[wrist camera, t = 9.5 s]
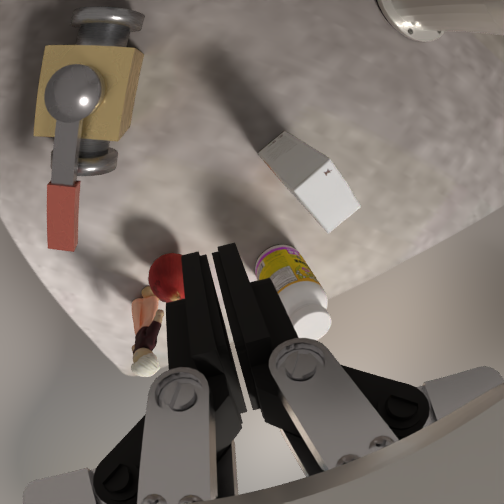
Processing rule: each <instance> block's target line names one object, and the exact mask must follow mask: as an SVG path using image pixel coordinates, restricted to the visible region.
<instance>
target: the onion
mask: <svg viewBox="0 0 504 504" xmlns="http://www.w3.org/2000/svg"><path fill="white" fill-rule="evenodd" d="M181 256H182V255H181V254H176V253H169V254H164V255H162V256H160V257H159V258H158V259H156V260H155V261H154V263H153V264H152V266H151V267H150V270H149V277H148V281H149V285H150V288H151V290H152V292H153V294H154V295H155V296H156V297H157V298H158V299H160V300H161V301H162V302H166V303H167V302H171V301H176V300H180V299H184V298H185V295H184V284H183V273H182V262H181Z"/></svg>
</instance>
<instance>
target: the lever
mask: <svg viewBox="0 0 504 504" xmlns="http://www.w3.org/2000/svg"><path fill="white" fill-rule="evenodd" d="M104 95H105V82H104V79H103V77H102V75H101V74H100V72H99V71H98V70H97V69H95V68H94V67H91V66H88V65H81V64H72V65H67V66H64V67H62V68H61V69H59V70H58V71H56V72H55V73H54V74H53V75H52V77H51V78H50V80H49V81H48V83H47V85H46V88H45V94H44V101H45V106H46V108H47V111H48V112H49V114H50V115H51V116H52V117H53V118H54V119H56V128H55V137H54V148H53V161H52V178H51V181H50V182H49V183H48V184H47V239H48V248H49V249H57V250H64V251H72V252H74V250H75V248H76V246H77V244H78V212H79V193H80V181H77V169H78V159H79V149H80V141H81V133H82V125H83V119H84V118H85V117H87V116H89V115H91V114H92V113H94V112H95V111H96V110H97V109H98V107H99V106H100V105H101V103H102V101H103V98H104Z"/></svg>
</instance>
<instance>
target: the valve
mask: <svg viewBox="0 0 504 504" xmlns="http://www.w3.org/2000/svg"><path fill="white" fill-rule="evenodd" d="M144 17H145V16H144V15H143V14H142V13H139V12H136V11H133V10H128V9H123V8H116V7H84V8H79V9H76V10H74V12H73V16H72V20H71V24H70V25H71V26H72V27H76V28H79V33H78V37H77V41H76V45H48V46H45V51H44V56H43V62H42V68H41V74H40V80H39V87H38V94H37V103H36V112H35V123H34V136H43V137H55V128H56V119H54V118H53V117H52V116H51V115H50V114H49V112H48V111H47V108H46V106H45V101H44V94H45V88H46V85H47V83H48V81H49V80H50V78H51V77H52V75H53V74H54V73H55V72H56V71H58V70H59V69H61V68H62V67H64V66H67V65H72V64H81V65H88V66H91V67H94V68H95V69H97V70H98V71H99V72H100V74H101V75H102V77H103V79H104V82H105V95H104V98H103V101H102V103H101V105H100V106H99V107H98V109H97V110H96V111H95V112H94V113H92V114H91V115H89V116H87V117H85V118H84V119H83V125H82V133H81V141H80V149H79V159H78V169H77V176H94V175H101V174H106V173H109V172H111V171H113V170H115V169H116V166H117V157H118V152H117V151H116V150H115V149H113V148H110V147H109V143H110V141H119V140H120V138H121V137H122V136H123V135H124V133H125V132H126V131H127V130H128V129H129V127H130V124H131V117H132V111H133V106H134V100H135V95H136V90H137V84H138V80H139V75H140V70H141V65H142V61H143V57H144V54H143V53H141V52H140V51H139V50H137V49H136V48H130V47H127V42H128V38H129V34H130V32H135V31H140V30H141V29H142V25H143V21H144ZM52 161H53V150H52V152H51V169H52Z"/></svg>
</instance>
